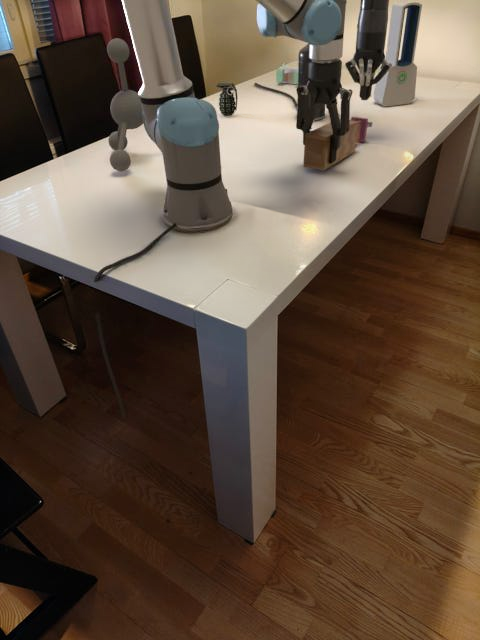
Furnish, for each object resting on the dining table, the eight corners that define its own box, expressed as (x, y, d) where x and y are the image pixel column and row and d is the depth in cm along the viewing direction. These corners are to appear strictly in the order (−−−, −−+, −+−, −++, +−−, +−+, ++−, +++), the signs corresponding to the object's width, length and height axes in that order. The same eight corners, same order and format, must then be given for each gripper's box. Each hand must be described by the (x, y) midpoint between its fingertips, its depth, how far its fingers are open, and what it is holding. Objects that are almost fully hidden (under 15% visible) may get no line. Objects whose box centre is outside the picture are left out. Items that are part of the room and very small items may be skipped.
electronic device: (382, 107, 168) (394, 4, 149) (371, 102, 174) (382, 2, 155) (414, 102, 170) (430, 0, 152) (403, 98, 176) (417, -1, 158)
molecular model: (194, 162, 134) (180, 38, 116) (114, 177, 128) (87, 49, 110) (171, 138, 152) (156, 27, 133) (100, 151, 146) (75, 36, 127)
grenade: (217, 117, 168) (214, 86, 162) (221, 112, 172) (219, 82, 166) (235, 117, 166) (233, 86, 160) (239, 113, 171) (238, 82, 165)
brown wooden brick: (335, 148, 138) (338, 118, 133) (354, 152, 135) (358, 121, 131) (303, 166, 125) (305, 133, 120) (323, 170, 122) (326, 137, 117)
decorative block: (299, 55, 215) (340, 58, 206) (298, 71, 219) (339, 75, 210) (267, 66, 199) (310, 70, 190) (267, 83, 203) (309, 88, 194)
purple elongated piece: (357, 134, 147) (360, 112, 143) (372, 136, 145) (375, 114, 141) (322, 153, 131) (324, 129, 127) (338, 156, 129) (341, 132, 125)
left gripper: (371, 58, 109) (361, 160, 123) (296, 54, 118) (295, 149, 132) (357, 65, 104) (348, 170, 119) (281, 60, 113) (281, 158, 127)
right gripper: (401, 27, 126) (392, 98, 137) (354, 25, 132) (348, 94, 143) (391, 32, 121) (382, 105, 132) (342, 30, 127) (337, 100, 138)
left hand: (320, 159), depth 125 cm, fingers closed on brown wooden brick, 6 cm apart
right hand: (364, 99), depth 137 cm, fingers closed
